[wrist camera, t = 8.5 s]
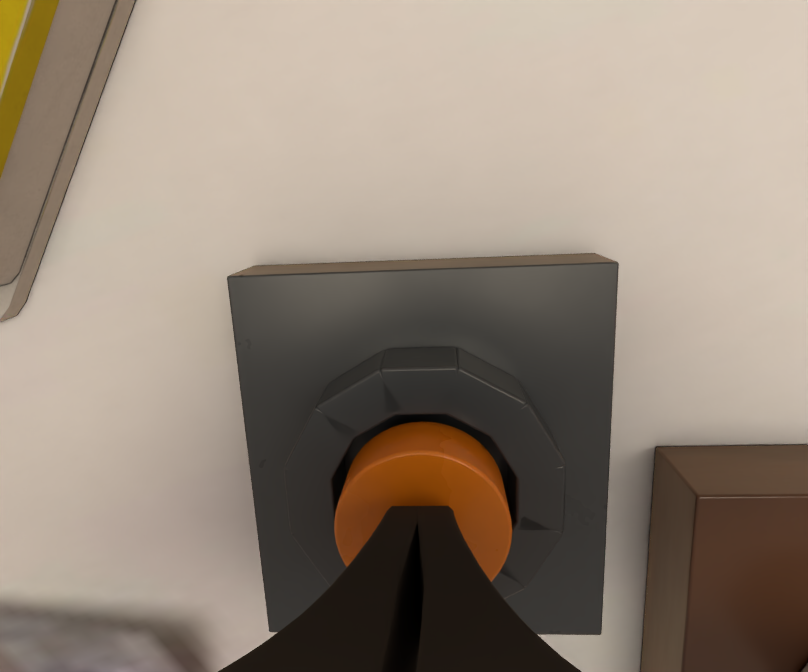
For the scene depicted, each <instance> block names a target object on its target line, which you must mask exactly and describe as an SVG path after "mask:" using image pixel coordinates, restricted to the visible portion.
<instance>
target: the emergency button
mask: <svg viewBox="0 0 808 672" xmlns="http://www.w3.org/2000/svg"><path fill="white" fill-rule="evenodd" d="M134 2H135V0H0V322H2V321H4V320H7V319H9V318H12V317H14V316H16V315H17V314H18V312H19V311H20V309H21V308H22V307H23V305H24V304H25V302H26V299H27V297H28V294H29V291H30V288H31V286H32V283H33V280H34V277H35V275H36V272H37V269H38V266H39V264H40V261H41V258H42V255H43V253H44V250H45V247H46V244H47V242H48V239H49V236H50V233H51V231H52V228H53V225H54V222H55V220H56V217H57V214H58V211H59V209H60V206H61V203H62V200H63V198H64V195H65V192H66V189H67V187H68V184H69V181H70V178H71V176H72V173H73V170H74V167H75V165H76V162H77V159H78V156H79V154H80V151H81V148H82V145H83V143H84V140H85V137H86V134H87V132H88V129H89V126H90V123H91V120H92V118H93V115H94V112H95V109H96V107H97V104H98V101H99V98H100V96H101V93H102V90H103V87H104V85H105V82H106V79H107V76H108V74H109V71H110V68H111V65H112V63H113V60H114V57H115V54H116V52H117V49H118V46H119V43H120V41H121V38H122V35H123V32H124V30H125V27H126V24H127V21H128V19H129V16H130V13H131V10H132V8H133V5H134Z"/></svg>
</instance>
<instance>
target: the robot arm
mask: <svg viewBox="0 0 808 672" xmlns="http://www.w3.org/2000/svg"><path fill="white" fill-rule="evenodd" d="M218 672H581V671H580V670H579V669H577V668H576V667H575V666H573V665H572V664H571V663H569V662H568V661H567V660H565V659H564V658H563V657H561V656H560V655H559V654H558V653H557V652H556V651H555V650H553V649H552V648H551V647H550V646H549V645H548V644H547V643H546V642H544V641H543V640H542V639H541V638H540V637H539V636H538V635H537V634H536V633H535V632H534V631H533V630H532V629H531V628H530V627H529V626H528V625H527V624H526V623H525V622H524V621H523V620H522V619H521V618H520V617H519V616H518V615H517V613H516V612H515V611H514V610H513V609H512V608H511V607H510V606H509V604H508V603H507V602H506V601H505V600H504V598H503V597H502V596H501V595H500V593H499V592H498V591H497V589H496V588H495V587H494V585H493V584H492V582H491V581H490V580H489V578H488V577H487V575H486V574H485V573H484V571H483V570H482V568H481V567H480V565H479V563H478V562H477V560H476V558H475V557H474V555H473V553H472V552H471V550H470V548H469V547H468V545H467V543H466V541H465V539H464V537H463V535H462V533H461V531H460V529H459V527H458V524H457V522H456V519H455V516H454V511H453V510H452V509H451V508H450V507H449V506H391V507H390V508H389V509H388V510H387V511H386V513H385V515H384V517H383V518H382V520H381V522H380V523H379V525H378V526H377V528H376V529H375V531H374V532H373V534H372V535H371V537H370V538H369V539H368V541H367V542H366V543H365V545H364V546H363V547H362V549H361V550H360V551H359V553H358V554H357V555H356V557H355V558H354V559H353V561H352V562H351V563H350V564H349V565H348V567H347V568H346V569H345V570H344V571H343V572H342V573H341V575H340V576H339V577H338V578H337V579H336V580H335V581H334V583H333V584H332V585H331V586H330V587H329V588H328V589H327V590H326V591H325V592H324V593H323V594H322V595H321V596H320V597H319V598H318V599H317V600H316V601H315V602H314V603H313V604H312V605H311V606H310V607H309V608H308V609H306V610H305V611H304V612H303V613H302V614H301V615H300V616H299V617H297V618H296V619H295V620H293V621H292V622H291V623H290V624H288V625H287V626H286V627H284V628H283V629H282V630H280V631H279V632H278V633H277V634H275V635H274V636H273V637H271V638H270V639H269V640H267V641H266V642H264V643H263V644H262V645H260V646H259V647H257V648H255V649H254V650H252V651H251V652H249V653H248V654H246V655H245V656H243V657H242V658H240V659H238V660H237V661H235V662H233V663H232V664H230V665H228V666H227V667H225V668H223V669H222V670H220V671H218Z"/></svg>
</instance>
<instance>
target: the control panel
mask: <svg viewBox="0 0 808 672" xmlns="http://www.w3.org/2000/svg"><path fill="white" fill-rule="evenodd" d="M807 663H808V445H765V446H694V447H657V448H656V454H655V469H654V484H653V498H652V513H651V528H650V543H649V558H648V572H647V587H646V602H645V617H644V632H643V646H642V661H641V672H802V670H803V668H804V667H805V666H806V664H807Z"/></svg>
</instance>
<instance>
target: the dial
mask: <svg viewBox="0 0 808 672" xmlns="http://www.w3.org/2000/svg"><path fill="white" fill-rule="evenodd" d="M802 672H808V663H807V664H806V666H805V667H804V668H803V670H802Z"/></svg>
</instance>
